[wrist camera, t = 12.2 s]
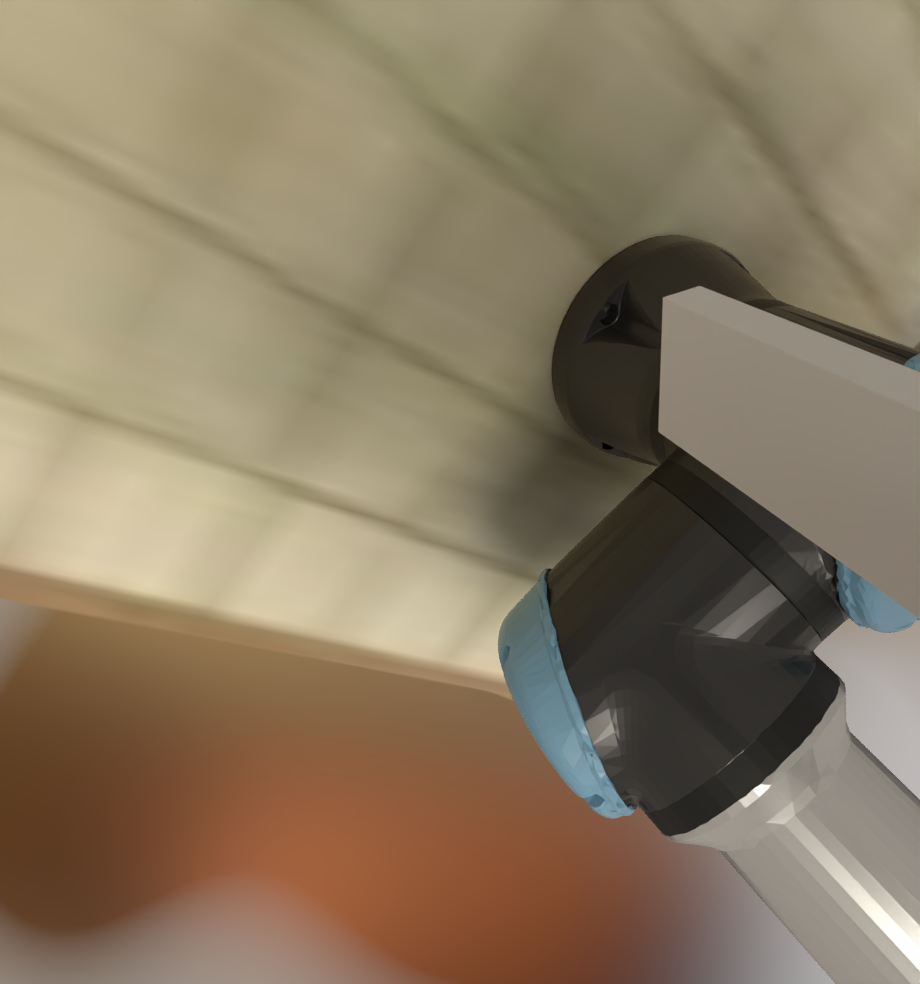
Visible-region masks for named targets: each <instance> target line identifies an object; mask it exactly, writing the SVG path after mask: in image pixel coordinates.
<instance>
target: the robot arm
mask: <svg viewBox="0 0 920 984" xmlns="http://www.w3.org/2000/svg"><path fill="white" fill-rule="evenodd" d="M552 378H553V388H554V393H555V397H556V401H557V404H558V406H559V409H560V411H561V413H562V415H563V416H564V418H565V419H566V421H567V422H568V423H569V425H570V426H571V427H572V428H573V429H574V430H575V431H577V432H578V433H579V434H580V435H581V436H583V437H584V438H585V439H586V440H587V441H588V442H590V443H591V444H592V445H594V446H595V447H597V448H599V449H600V450H602V451H604V452H607V453H609V454H612V455H616V456H620V457H625V458H629V459H632V460H635V461H638V462H642V463H645V464H649V465H653V466H657V467H658V468H657V469H656V470H655V471H654V472H653V473H652V474H651V475H650V476H649V477H647V478H646V479H645V480H643V481H642V482H641V483H640V484H639V485H638V486H637V487H636V488H635V489H634V490H633V491H632V492H631V493H630V494H629V495H628V496H627V497H626V498H625V499H624V500H623V501H622V502H621V503H620V504H619V505H618V506H617V507H616V508H615V509H614V510H613V511H612V512H611V513H609V514H608V515H607V516H606V517H605V518H604V519H603V520H602V521H601V522H600V523H599V524H598V525H597V526H596V527H595V528H594V529H593V530H592V531H591V532H590V533H589V534H588V535H587V536H586V537H585V538H584V539H583V540H582V541H581V542H580V543H579V544H578V545H577V546H575V547H574V548H573V549H572V550H571V551H570V552H569V553H568V554H567V555H566V556H565V557H564V558H563V559H562V560H561V561H560V562H559V563H558V564H557V565H556V566H555V567H554V568H553V569H545V570H544V571H543V572H542V573H541V575H540V576H539V580H538V582H537V583H536V584H535V586H534V587H533V588H532V589H531V590H530V591H529V592H528V593H527V594H526V595H525V596H524V597H523V598H522V599H521V601H520V602H519V603H518V604H517V605H516V606H515V607H514V608H513V609H512V610H511V611H510V612H509V613H508V615H507V616H506V618H505V619H504V621H503V623H502V625H501V628H500V631H499V638H498V653H499V659H500V663H501V667H502V669H503V672H504V677H505V680H506V683H507V686H508V688H509V691H510V693H511V695H512V698H513V700H514V702H515V704H516V706H517V708H518V710H519V712H520V714H521V716H522V718H523V720H524V721H525V723H526V725H527V727H528V729H529V730H530V732H531V734H532V735H533V737H534V739H535V740H536V742H537V743H538V745H539V747H540V748H541V750H542V751H543V753H544V754H545V756H546V757H547V759H548V760H549V761H550V763H551V764H552V766H553V767H554V768H555V770H556V771H557V772H558V774H559V775H560V776H561V777H562V779H563V780H564V781H565V782H566V784H567V785H568V786H569V787H570V788H571V789H572V790H573V791H574V792H575V793H576V794H577V795H578V796H579V797H583V798H585V800H586V801H587V803H588V804H589V806H590V807H591V809H593V810H594V811H596V812H597V813H599V814H600V815H602V816H604V817H607V818H618V817H621V816H623V815H625V816H627V815H631V814H632V813H633V812H634V811H635V810H636V808H637V807H639V808H641V809H642V811H644V812H645V814H646V815H647V816H648V817H649V818H650V819H651V820H652V822H653V823H654V824H655V825H656V826H657V828H658V829H659V830H660V831H661V832H662V834H663V835H665V837H667V838H668V839H669V840H670V841H672V842H681V843H688V844H696V845H704V846H710V847H713V848H715V849H717V850H718V851H719V852H720V853H721V854H722V855H723V856H724V857H725V859H726V860H727V861H728V862H729V863H730V864H731V865H732V867H733V868H734V869H735V870H736V871H737V872H738V873H739V875H740V876H741V877H742V878H743V879H744V880H745V881H746V882H747V884H748V885H749V886H750V887H751V888H752V889H753V890H754V892H755V893H756V894H757V895H758V896H759V897H760V898H761V900H762V901H763V902H764V903H765V904H766V905H767V906H768V908H769V909H770V910H771V911H772V912H773V913H774V914H775V915H776V917H777V918H778V919H779V920H780V921H781V922H782V923H783V924H784V926H785V927H786V928H787V929H788V930H789V931H790V933H792V935H793V936H794V937H795V938H796V939H797V940H798V942H799V943H800V944H801V945H802V946H803V947H804V948H805V950H806V951H807V952H808V953H809V954H810V955H811V956H812V957H813V959H814V960H815V961H816V962H817V963H818V964H819V965H820V967H821V968H822V969H823V970H824V971H825V972H826V973H827V974H828V976H829V977H830V978H831V979H832V980H833V981H834V983H835V984H920V800H919V799H918V798H917V797H916V796H915V795H914V794H913V793H912V792H911V791H910V790H909V789H908V788H907V787H906V786H905V785H904V784H903V783H902V782H901V781H900V780H899V779H898V778H897V777H896V776H895V775H894V774H893V773H892V772H891V771H890V770H889V769H887V767H886V766H885V765H883V763H882V762H880V761H879V760H878V759H877V758H876V757H875V756H874V755H873V754H872V753H871V752H870V751H869V750H868V749H867V748H866V747H865V746H864V745H863V744H862V743H861V742H860V741H859V740H858V739H857V738H856V737H855V736H854V735H853V734H852V733H851V732H850V731H849V728H848V725H847V722H846V690H845V689H846V688H845V683H844V682H843V681H842V680H841V679H840V677H839V676H838V675H837V674H835V673H834V672H833V671H832V670H831V669H830V668H829V667H828V666H827V665H826V664H825V663H824V662H823V661H821V660H820V659H819V658H818V657H817V656H816V655H815V653H814V651H813V650H814V649H815V648H816V647H817V646H818V645H819V644H820V643H821V642H822V641H823V640H824V639H825V638H826V637H827V636H829V635H830V634H831V633H832V632H833V631H834V630H835V629H837V628H838V627H839V626H840V625H841V624H842V623H843V622H845V621H846V620H847V619H848V618H850V619H851V620H852V621H854V622H855V623H856V624H857V625H859V626H861V627H866V628H871V629H873V630H875V631H879V632H884V633H886V632H887V633H890V632H897V631H901V630H905V629H907V628H910V627H911V626H912V624H913V623H914V622H915V621H916V620H920V351H918V350H916V349H913V348H910V347H907V346H905V345H902V344H899V343H896V342H893V341H890V340H888V339H885V338H882V337H879V336H876V335H874V334H871V333H868V332H865V331H862V330H859V329H857V328H854V327H851V326H848V325H845V324H843V323H840V322H837V321H834V320H831V319H828V318H826V317H823V316H820V315H817V314H814V313H812V312H809V311H806V310H803V309H800V308H797V307H794V306H791V305H788V304H786V303H783V302H781V301H778V300H777V299H776V298H774V297H773V296H772V295H771V294H770V293H769V292H768V291H767V290H766V289H765V288H764V287H763V286H762V285H761V284H760V283H759V282H758V281H757V280H756V279H754V278H753V277H752V276H751V275H750V274H749V272H748V271H747V270H746V269H745V267H744V266H743V265H742V264H741V262H740V261H739V260H738V259H737V258H736V257H734V256H733V255H732V254H730V253H729V252H727V251H726V250H724V249H722V248H720V247H718V246H716V245H713V244H710V243H707V242H704V241H701V240H698V239H694V238H691V237H687V236H680V235H668V236H660V237H655V238H651V239H648V240H645V241H642V242H640V243H637V244H635V245H633V246H631V247H629V248H627V249H626V250H624V251H622V252H621V253H619V254H618V255H616V256H615V257H614V258H612V259H611V260H610V261H608V262H607V263H606V264H605V265H604V266H603V267H602V268H600V269H599V270H598V271H597V272H596V273H595V274H594V276H593V277H592V278H591V279H590V280H589V281H588V282H587V284H586V285H585V286H584V287H583V289H582V290H581V291H580V293H579V294H578V296H577V297H576V299H575V300H574V302H573V304H572V306H571V307H570V309H569V311H568V313H567V315H566V317H565V319H564V322H563V324H562V327H561V329H560V332H559V335H558V338H557V342H556V346H555V351H554V357H553V368H552Z"/></svg>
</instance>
